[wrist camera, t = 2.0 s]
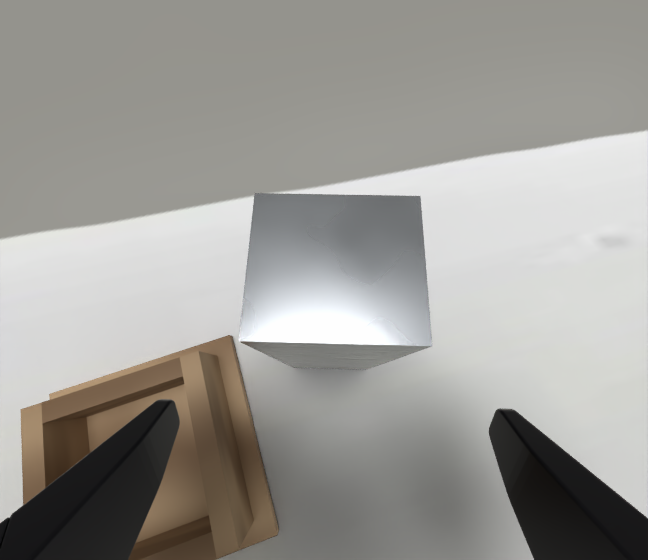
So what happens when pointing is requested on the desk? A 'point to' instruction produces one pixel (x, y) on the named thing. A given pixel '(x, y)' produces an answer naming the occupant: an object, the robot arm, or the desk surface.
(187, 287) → the desk surface
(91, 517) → the robot arm
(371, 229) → the silver block
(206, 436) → the well
